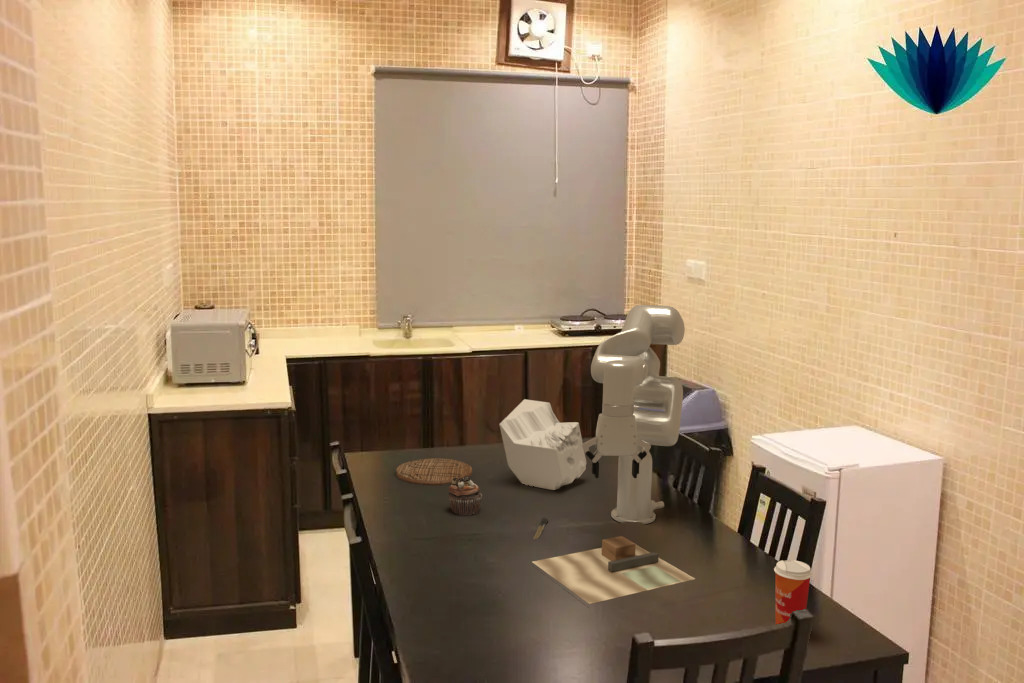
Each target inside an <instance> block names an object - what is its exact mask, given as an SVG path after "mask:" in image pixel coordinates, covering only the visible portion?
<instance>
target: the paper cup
mask: <svg viewBox="0 0 1024 683" xmlns="http://www.w3.org/2000/svg"><path fill="white" fill-rule="evenodd" d="M773 571H774V572H775V591H774V593H775V596H774V597H775V600H774V601H775V615H774V616H775V617H774V618H775V625H776V624H781V623H786V622H787V621H788V620H789V618H790V614H791V613H792V612H793V611H796V610H803V609H806V610H807V606H808V605H807V604H808V598H809V591H810V584H811V577H813V572H812V571H811V567H810V565H809V564H808V563H806V562H803V561H799V560H795V559H792V560H790V559H789V560H779V561H778V562H776V566H774V568H773Z"/></svg>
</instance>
